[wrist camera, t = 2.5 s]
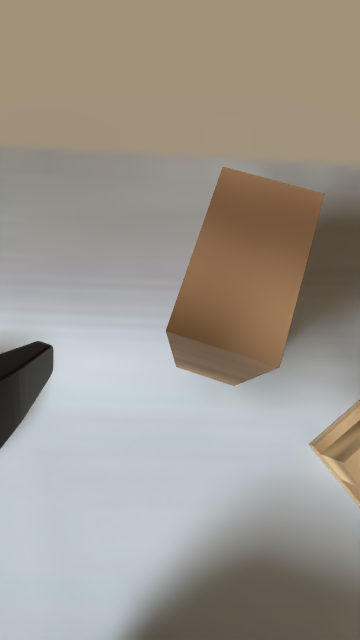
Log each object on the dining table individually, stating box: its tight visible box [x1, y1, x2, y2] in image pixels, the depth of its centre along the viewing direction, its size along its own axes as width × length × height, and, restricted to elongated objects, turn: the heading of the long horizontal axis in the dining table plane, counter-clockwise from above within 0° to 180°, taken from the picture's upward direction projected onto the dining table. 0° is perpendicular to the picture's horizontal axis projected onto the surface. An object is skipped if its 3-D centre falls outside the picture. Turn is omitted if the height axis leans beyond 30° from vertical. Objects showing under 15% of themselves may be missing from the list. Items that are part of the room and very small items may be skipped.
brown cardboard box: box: [166, 167, 325, 386], centre depth 16 cm, size 6×4×10 cm, turn 162°
